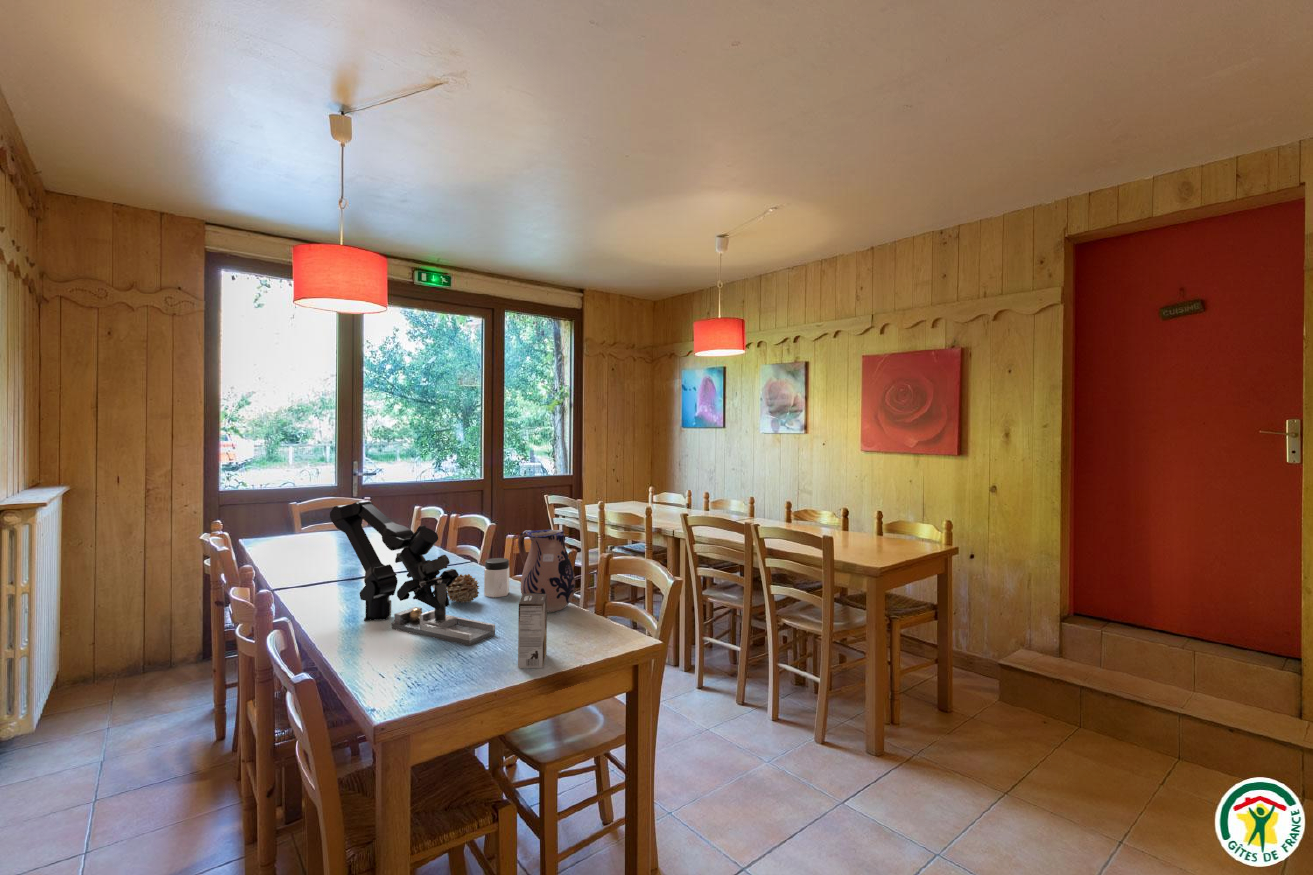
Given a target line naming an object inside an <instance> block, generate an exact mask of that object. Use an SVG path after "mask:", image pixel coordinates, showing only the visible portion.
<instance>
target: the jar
mask: <svg viewBox="0 0 1313 875" xmlns="http://www.w3.org/2000/svg"><path fill="white" fill-rule="evenodd" d="M484 566H485V567H484V571H483V572H484V573H483V574H484V578H483V579H484V585H483V586H484V588H483V589H484V590H483V596H484V597H490V598H494V597H495V598H500V597H501V598H502V597H506V596H508V595H509V593H510V560H509V558H504V557H494V558H487V559H486V560H485V561H484Z"/></svg>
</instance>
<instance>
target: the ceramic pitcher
mask: <svg viewBox="0 0 1313 875" xmlns="http://www.w3.org/2000/svg"><path fill="white" fill-rule="evenodd" d="M564 532H565V531H564V530H562V529H540V530H539V529H538V530H527V529H526V530H524V531H522V532H521V533H520V535H519V536H518V538H517V546H518V547H517V548H518V554H519V555H520V559H521V562H522V564H523V570H522V573H521V578H520V592H521V595H522V594H527V593H535V594H547V613H554V612H558V611H562V610H563V609H565V607H567V606H569V604H570V602H571V601H572V600H573V597H574V594H575V590H576V576H575V572H574V569H573V566H572V562H571V559H570V556H569V553H568V550H567V547H566V544H565V543H566V542H565V541H566V538H567V535H566V534H565V533H564ZM526 537H528V538H529V539H530V547H529V550H528V553H527V552H526V551H527V550H526V546H525V538H526Z"/></svg>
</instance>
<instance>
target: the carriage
mask: <svg viewBox="0 0 1313 875" xmlns="http://www.w3.org/2000/svg"><path fill="white" fill-rule="evenodd" d="M434 596H435V598H436V600H437V601H438V603H439V605H440V609H439V610H437V609H435V608H433V609H432V610H428V611H425V612H422V614H420V627H421V625H422V624H428V625H433V626H438V627H442V628H447V627H450V626H453V625H455V624H457V617H458V616H455V615H450V614H447V612H446V610H447V607H446V583H436V584H435V595H434Z"/></svg>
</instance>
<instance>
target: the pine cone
mask: <svg viewBox="0 0 1313 875" xmlns="http://www.w3.org/2000/svg"><path fill="white" fill-rule="evenodd" d="M479 584H480V582H478V580H476V577H473V575H471V574H469V573H468V574H466V573H465V574H463V573H460V574H459V575H458V577H457V578H456V579H455V580H454V581H453V582H452V584H451V585H450V586H448V587H447V595H448V600H449V601H450V600H451V601H452V602H455V603H456V604H458V603H461V604H466V603H470V602H472V601H474V600H475V599H476V598H478V597H479V594H480V592H479V590H480V585H479Z"/></svg>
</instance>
